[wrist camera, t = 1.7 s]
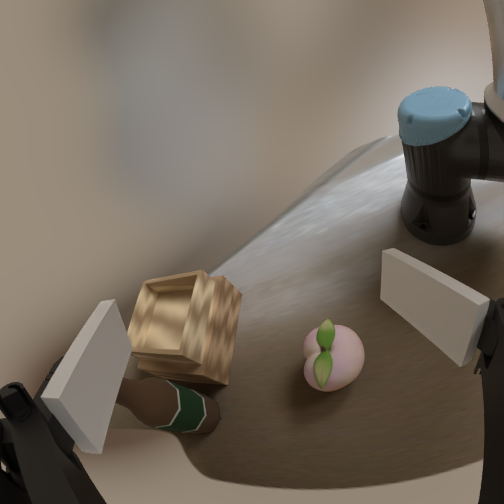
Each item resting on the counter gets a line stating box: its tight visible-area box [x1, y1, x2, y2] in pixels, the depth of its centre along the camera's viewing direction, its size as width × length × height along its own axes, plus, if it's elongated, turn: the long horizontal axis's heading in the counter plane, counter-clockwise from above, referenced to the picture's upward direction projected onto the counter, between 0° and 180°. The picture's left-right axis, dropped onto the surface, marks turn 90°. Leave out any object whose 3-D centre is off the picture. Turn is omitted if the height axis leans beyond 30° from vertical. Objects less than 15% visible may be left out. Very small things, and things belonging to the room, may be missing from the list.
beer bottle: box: [115, 377, 221, 434], centre depth 34 cm, size 8×8×24 cm
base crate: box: [137, 276, 242, 385], centre depth 51 cm, size 18×16×7 cm
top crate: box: [127, 270, 218, 365], centre depth 47 cm, size 15×15×5 cm
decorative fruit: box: [303, 319, 365, 392], centre depth 34 cm, size 9×8×10 cm
